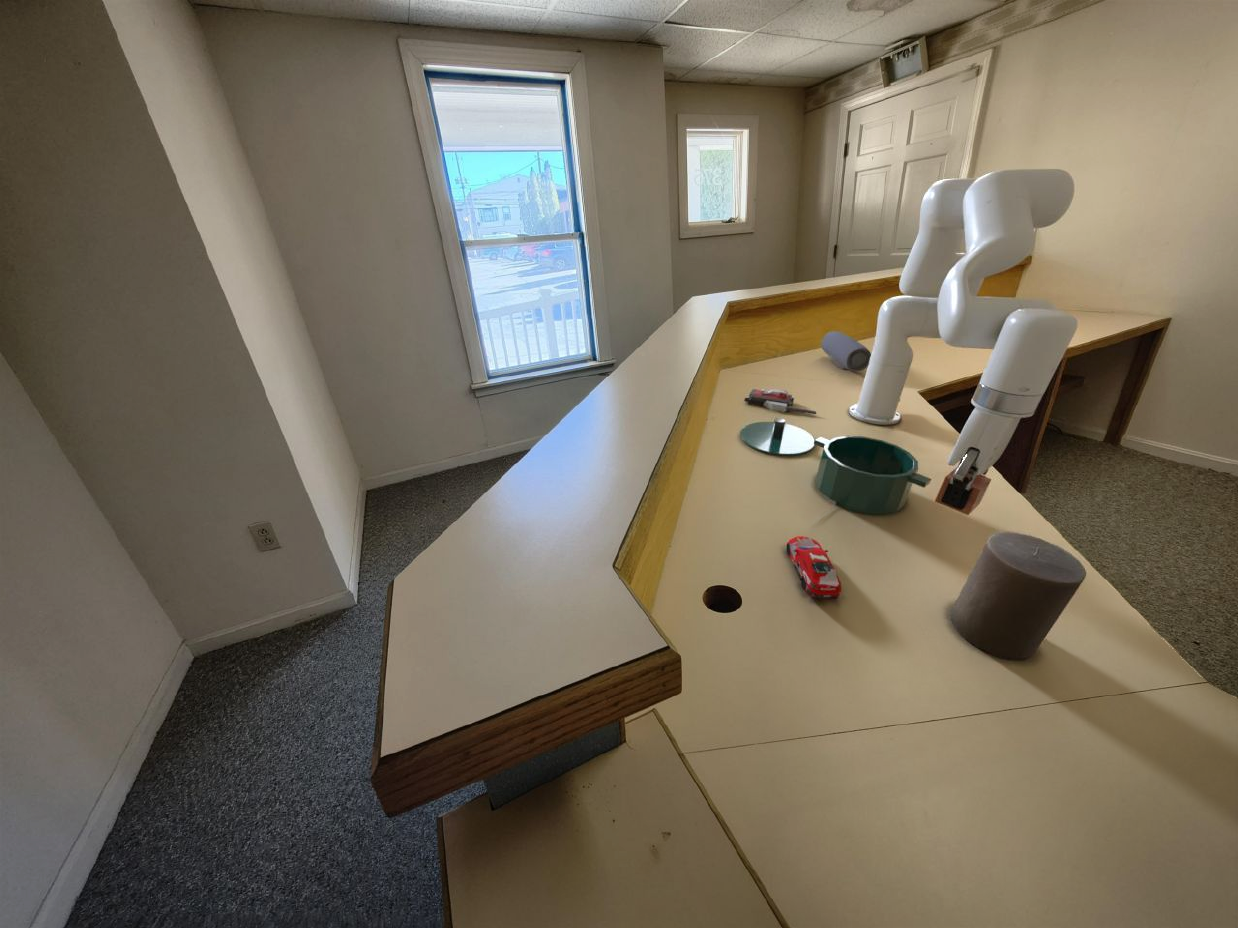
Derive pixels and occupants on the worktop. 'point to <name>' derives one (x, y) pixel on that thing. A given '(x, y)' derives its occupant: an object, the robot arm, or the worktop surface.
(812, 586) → the race car
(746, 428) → the lid
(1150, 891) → the worktop surface
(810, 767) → the worktop surface
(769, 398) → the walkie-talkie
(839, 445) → the pot
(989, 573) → the pillar candle
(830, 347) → the bluetooth speaker
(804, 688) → the worktop surface
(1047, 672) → the worktop surface
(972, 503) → the block
